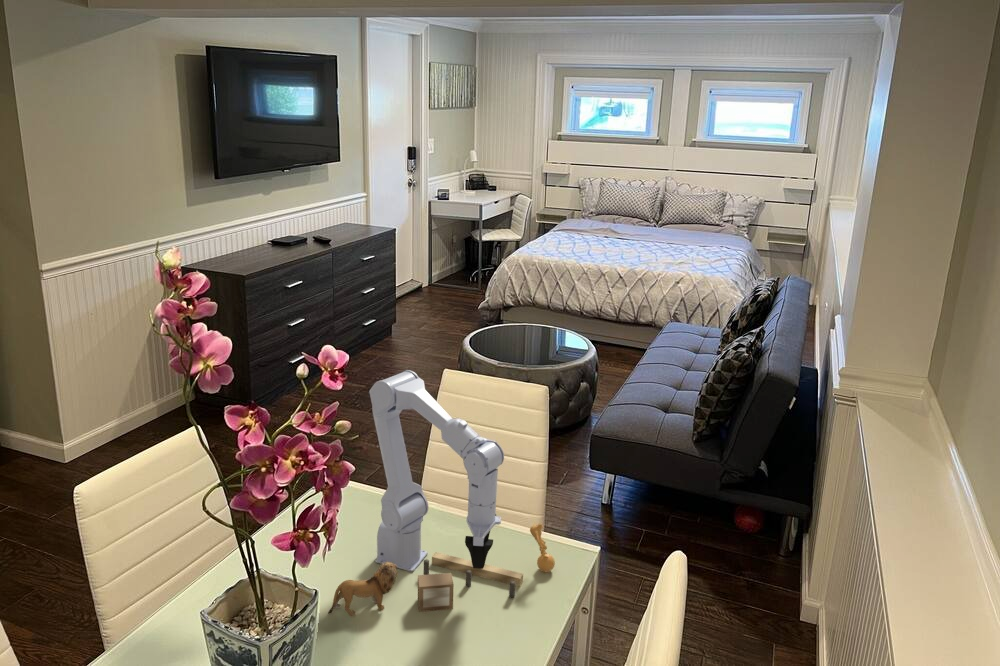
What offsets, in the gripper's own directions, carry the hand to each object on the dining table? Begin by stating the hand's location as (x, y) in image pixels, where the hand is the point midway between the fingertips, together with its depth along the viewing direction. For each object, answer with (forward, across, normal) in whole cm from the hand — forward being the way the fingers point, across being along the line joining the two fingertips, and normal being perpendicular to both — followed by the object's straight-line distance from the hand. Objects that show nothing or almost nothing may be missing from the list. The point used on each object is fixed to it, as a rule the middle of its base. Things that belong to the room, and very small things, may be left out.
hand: (479, 556), depth 163 cm
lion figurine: (+10, -6, +23) cm, 26 cm away
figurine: (+10, +11, -13) cm, 20 cm away
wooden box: (+10, -4, +9) cm, 14 cm away
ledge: (+10, +6, +2) cm, 11 cm away
